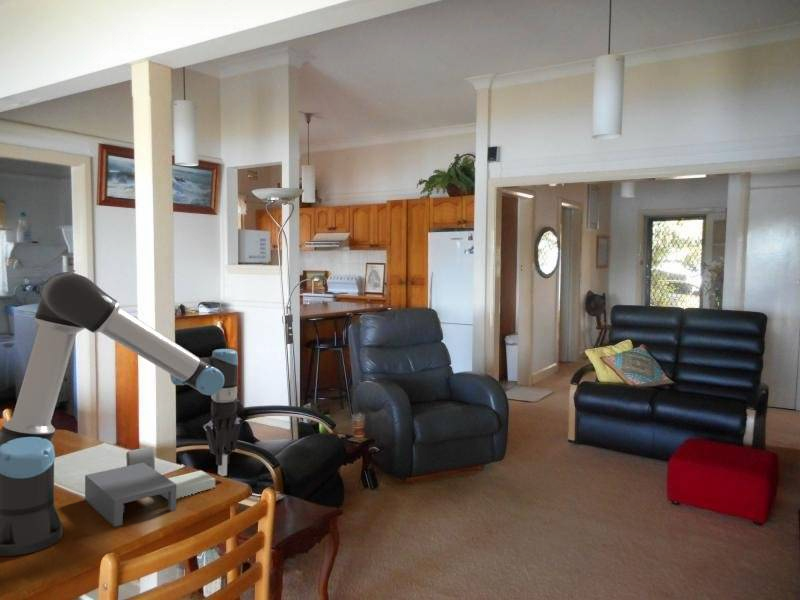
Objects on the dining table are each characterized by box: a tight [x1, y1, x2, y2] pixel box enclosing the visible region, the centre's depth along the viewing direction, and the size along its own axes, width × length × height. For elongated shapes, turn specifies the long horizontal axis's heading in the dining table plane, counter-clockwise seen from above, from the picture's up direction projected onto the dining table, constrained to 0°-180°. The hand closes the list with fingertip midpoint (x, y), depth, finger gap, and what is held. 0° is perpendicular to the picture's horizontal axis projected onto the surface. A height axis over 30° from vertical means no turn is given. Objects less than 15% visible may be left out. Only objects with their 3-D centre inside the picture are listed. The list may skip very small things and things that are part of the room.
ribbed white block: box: [159, 469, 216, 501], centre depth 171 cm, size 14×9×3 cm, turn 136°
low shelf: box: [84, 463, 177, 528], centre depth 159 cm, size 16×22×7 cm
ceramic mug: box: [125, 446, 156, 471], centre depth 182 cm, size 11×8×8 cm
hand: (222, 474), depth 180 cm, fingers closed
